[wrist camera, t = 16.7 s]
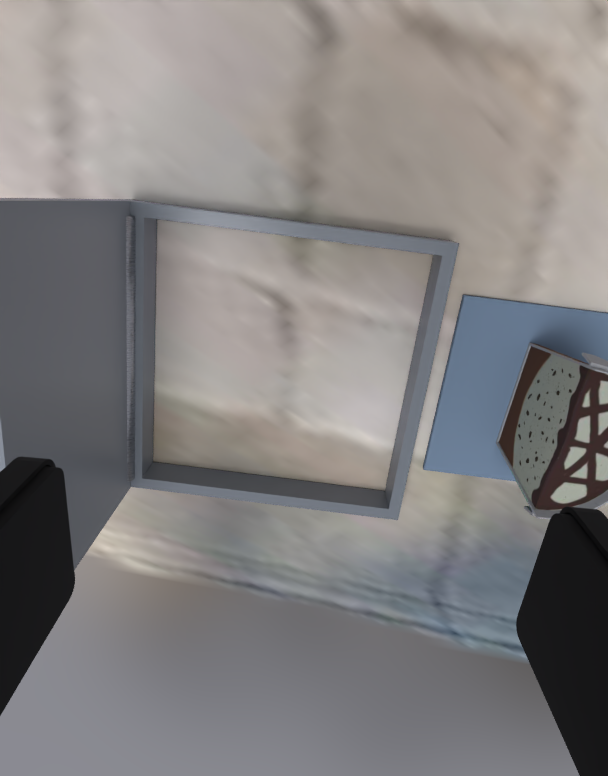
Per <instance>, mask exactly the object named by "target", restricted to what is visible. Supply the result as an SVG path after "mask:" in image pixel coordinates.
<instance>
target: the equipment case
mask: <svg viewBox="0 0 608 776" xmlns="http://www.w3.org/2000/svg"><path fill="white" fill-rule="evenodd" d="M157 219H160V220H168V221H176V222H184V223H191V224H199V225H207V226H215V227H223V228H230V229H238V230H246V231H254V232H261V233H269V234H277V235H285V236H293V237H300V238H308V239H316V240H324V241H332V242H339V243H347V244H355V245H363V246H370V247H378V248H386V249H394V250H402V251H409V252H417V253H425V254H433V260H432V265H431V269H430V274H429V279H428V284H427V289H426V294H425V299H424V303H423V308H422V313H421V318H420V323H419V328H418V333H417V337H416V342H415V347H414V352H413V357H412V362H411V367H410V371H409V376H408V381H407V386H406V391H405V396H404V401H403V405H402V410H401V415H400V420H399V425H398V430H397V435H396V439H395V444H394V449H393V454H392V459H391V464H390V469H389V473H388V478H387V483H386V488H385V491H382V490H374V489H366V488H358V487H350V486H342V485H334V484H326V483H318V482H310V481H302V480H294V479H286V478H278V477H270V476H262V475H254V474H246V473H238V472H230V471H222V470H214V469H206V468H198V467H190V466H182V465H174V464H166V463H158V462H153V425H154V363H155V301H156V239H157ZM458 246H459V243H456V242H453V241H450V240H442V239H434V238H427V237H419V236H411V235H403V234H396V233H388V232H380V231H372V230H364V229H357V228H349V227H341V226H333V225H326V224H318V223H310V222H302V221H294V220H287V219H279V218H271V217H263V216H256V215H248V214H240V213H232V212H225V211H217V210H209V209H201V208H193V207H186V206H178V205H170V204H162V203H155V202H147V201H139V200H128V199H39V198H0V472H1V471H2V470H3V469H4V468H5V467H6V466H7V465H8V464H9V463H11V462H12V461H13V460H14V459H15V458H17V457H21V456H23V457H34V458H45V459H51V460H53V462H54V463H55V466H56V467H58V468H61V469H62V470H63V472H64V478H65V488H66V497H67V507H68V516H69V526H70V535H71V545H72V554H73V564H74V570H75V568H76V567H77V565H78V564H79V562H80V561H81V559H82V558H83V557H84V555H85V554H86V552H87V551H88V549H89V548H90V546H91V545H92V543H93V542H94V540H95V539H96V537H97V536H98V534H99V533H100V531H101V530H102V528H103V527H104V526H105V524H106V523H107V521H108V520H109V518H110V517H111V515H112V514H113V512H114V511H115V509H116V508H117V506H118V505H119V503H120V502H121V500H122V499H123V498H124V496H125V495H126V493H127V492H128V490H129V489H130V487H137V488H145V489H153V490H161V491H169V492H177V493H185V494H193V495H201V496H209V497H217V498H225V499H233V500H241V501H249V502H257V503H265V504H273V505H281V506H289V507H297V508H305V509H313V510H322V511H330V512H338V513H346V514H354V515H362V516H370V517H378V518H386V519H394V520H398V517H399V513H400V508H401V504H402V499H403V494H404V490H405V485H406V481H407V476H408V472H409V467H410V463H411V458H412V454H413V449H414V445H415V440H416V436H417V431H418V427H419V422H420V418H421V413H422V409H423V404H424V400H425V395H426V391H427V386H428V382H429V377H430V373H431V368H432V364H433V359H434V355H435V350H436V346H437V341H438V337H439V332H440V328H441V323H442V319H443V314H444V310H445V305H446V301H447V296H448V291H449V287H450V282H451V278H452V273H453V269H454V264H455V260H456V255H457V251H458Z"/></svg>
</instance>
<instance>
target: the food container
mask: <svg viewBox="0 0 608 776" xmlns="http://www.w3.org/2000/svg"><path fill="white" fill-rule="evenodd" d="M582 356H583V357H584V358H585V359H586V360H587V362H588V363H589V364H588V363H585V362H583V361H580V360H577V359H575V358H572V357H570V356H567V355H565V354H562V353H559V352H557V351H554V350H552V349H549V348H546V347H544V346H541V345H539V344H535V343H530V342H529V344H528V347H527V350H526V353H525V356H524V359H523V362H522V365H521V368H520V371H519V374H518V377H517V380H516V383H515V386H514V389H513V392H512V395H511V398H510V401H509V404H508V407H507V410H506V413H505V416H504V419H503V422H502V425H501V428H500V431H499V434H498V437H497V440H496V444H497V446H498V448H499V450H500V452H501V454H502V455H503V457H504V459H505V461H506V463H507V465H508V467H509V468H510V470H511V472H512V474H513V476H514V478H515V480H516V482H517V483H518V485H519V487H520V489H521V491H522V493H523V495H524V497H525V498H526V500H527V502H528V504H529V506H524V509H525V510H526V511H528V512H529V513H530V514H531V515H532V516H536V518H542V519H551V517H552V516H553V515H554V514H556V513H560V511H561V510H562V509H563V508H564V507H578V508H589V509H597V508H599V507H601V506H603V505H604V504H606V503H608V361H606V360H604V359H602V358H600V357H597V356H595V355H591V354H587V353H583V352H582Z"/></svg>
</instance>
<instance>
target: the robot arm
mask: <svg viewBox="0 0 608 776" xmlns="http://www.w3.org/2000/svg"><path fill="white" fill-rule="evenodd" d="M74 584H75V574H74V564H73V554H72V545H71V535H70V526H69V516H68V507H67V497H66V488H65V478H64V472H63V470H62V469H61V468H58V467H56V466H55V463H54V462H53V460H51V459H45V458H34V457H23V456H21V457H17V458H15V459H14V460H13V461H12V462H11V463H9V464H8V465H7V466H6V467H5V468H4V469H3V470H2V471H1V472H0V715H1V713H2V712H3V710H4V709H5V707H6V705H7V703H8V702H9V700H10V698H11V697H12V695H13V693H14V691H15V690H16V688H17V686H18V685H19V683H20V682H21V680H22V678H23V676H24V675H25V673H26V672H27V670H28V668H29V666H30V665H31V663H32V661H33V660H34V658H35V656H36V655H37V653H38V651H39V650H40V648H41V646H42V644H43V643H44V641H45V640H46V637H47V636H48V634H49V633H50V631H51V629H52V628H53V626H54V624H55V623H56V621H57V619H58V618H59V616H60V614H61V613H62V611H63V609H64V608H65V606H66V604H67V603H68V601H69V599H70V597H71V595H72V592H73V589H74ZM516 626H517V634H518V637H519V640H520V642H521V644H522V647H523V649H524V651H525V653H526V656H527V658H528V660H529V662H530V665H531V667H532V669H533V671H534V674H535V676H536V678H537V680H538V682H539V685H540V687H541V689H542V691H543V694H544V696H545V698H546V701H547V703H548V705H549V707H550V710H551V711H552V714H553V716H554V719H555V721H556V723H557V725H558V728H559V730H560V732H561V734H562V737H563V739H564V741H565V743H566V746H567V748H568V750H569V752H570V755H571V757H572V759H573V761H574V763H575V766H576V768H577V770H578V773H579V775H580V776H608V519H607V517H606V516H605V515H604V514H603V513H602V512H601V511H599V510H597V509H589V508H578V507H564V508H563V509H562V510H561V511H560V513H556V514H554V515H553V516H552V517H551V519H550V522H549V525H548V527H547V530H546V533H545V536H544V539H543V542H542V545H541V548H540V551H539V554H538V557H537V560H536V563H535V566H534V569H533V572H532V575H531V578H530V581H529V584H528V587H527V590H526V592H525V595H524V598H523V601H522V604H521V607H520V610H519V613H518V616H517V623H516Z"/></svg>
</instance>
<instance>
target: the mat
mask: <svg viewBox="0 0 608 776" xmlns="http://www.w3.org/2000/svg"><path fill="white" fill-rule="evenodd" d="M529 342H530V343H535V344H539V345H541V346H544V347H546V348H549V349H552V350H554V351H557V352H559V353H562V354H565V355H567V356H570V357H572V358H575V359H577V360H580V361H583V362H585V363H588V362H587V360H586V359H585V358H584V357H583V356H582V352H583V353H587V354H591V355H595V356H597V357H600V358H602V359H604V360H606V361H608V313H603V312H596V311H588V310H580V309H572V308H564V307H556V306H549V305H541V304H533V303H525V302H517V301H510V300H502V299H494V298H486V297H478V296H470V295H463V296H462V301H461V305H460V309H459V314H458V318H457V322H456V327H455V331H454V335H453V340H452V344H451V348H450V352H449V357H448V361H447V365H446V370H445V374H444V378H443V383H442V387H441V391H440V395H439V400H438V404H437V408H436V413H435V417H434V421H433V426H432V430H431V434H430V439H429V443H428V447H427V451H426V456H425V460H424V464H423V469H424V470H430V471H438V472H446V473H454V474H462V475H470V476H478V477H486V478H494V479H502V480H510V481H516V480H515V478H514V476H513V474H512V472H511V470H510V468H509V467H508V465H507V463H506V461H505V459H504V457H503V455H502V454H501V452H500V450H499V448H498V446H497V444H496V440H497V437H498V434H499V431H500V428H501V425H502V422H503V419H504V416H505V413H506V410H507V407H508V404H509V401H510V398H511V395H512V392H513V389H514V386H515V383H516V380H517V377H518V374H519V371H520V368H521V365H522V362H523V359H524V356H525V353H526V350H527V347H528V344H529ZM588 364H589V363H588Z"/></svg>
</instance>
